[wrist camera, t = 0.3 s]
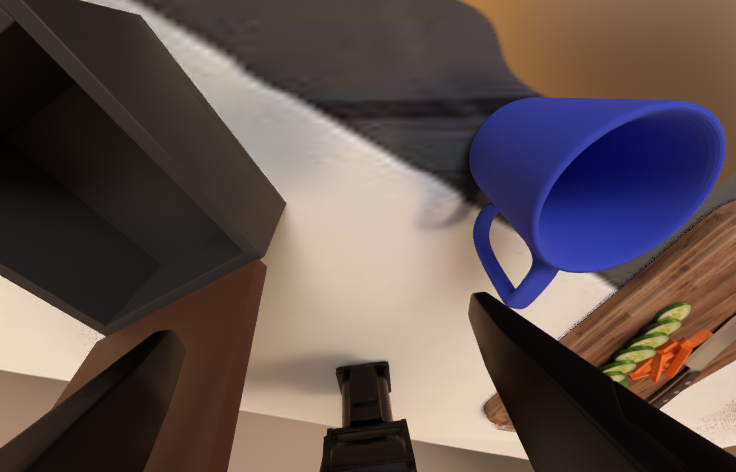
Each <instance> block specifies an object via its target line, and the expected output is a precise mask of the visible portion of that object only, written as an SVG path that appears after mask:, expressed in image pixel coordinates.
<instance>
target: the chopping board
mask: <svg viewBox="0 0 736 472" xmlns="http://www.w3.org/2000/svg"><path fill="white" fill-rule="evenodd" d="M559 342H560V343H562V344H563V345H564V346H566V347H567V348H569V349H570V350H572V351H573V352H575V353H576V354H578V355H579V356H581V357H582V358H583V359H585V360H586V361H588V362H589V363H591V364H592V365H594V366H595V367H597V368H598V369H600V370H601V371H602V372H604V373H605V374H607V375H608V376H610V377H611V378H612V379H613V381H617V382H619V383H620V384H622V385H623V386H625V387H626V388H628V389H629V390H630V391H632V392H633V393H635V394H636V395H638V396H639V397H641V398H642V399H644V400H645V401H647V402H648V403H650V404H651V405H653V406H654V407H656V408H658V409H660V408H661V407H663V406H664V405H665V404H666V403H668V402H669V401H670V400H671V399H673V398H674V397H675V396H676V395H678V394H679V393H680V392H681V391H683V390H684V389H686V388H688V387H690V386H691V385H693V384H695V383H697V382H698V381H700V380H702V379H704V378H705V377H707V376H709V375H711V374H712V373H714V372H716V371H717V370H719V369H721V368H723V367H724V366H726V365H728V364H730V363H731V362H733V361H735V360H736V200H734V201H732V202H730V203H728V204H725V205H723V206H721V207H719V208H718V209H716V210H715V211H713V212H712V213H710V214H709V215H708V216H706V217H705V218H704V219H702V220H701V221H700V222H699V223H698V224H696V225H695V226H694V227H693V228H692V229H691V230H689V231H688V232H687V233H686V234H685V235H683V236H682V237H681V238H680V239H679V240H678V241H676V242H675V243H674V244H673V245H672V246H671V247H669V248H668V249H667V250H666V251H665V252H663V253H662V254H661V255H660V256H659V257H658V258H656V259H655V260H654V261H653V262H652V263H650V264H649V265H648V266H647V267H646V268H645V269H643V270H642V271H641V272H640V273H639V274H638V275H636V276H635V277H634V278H633V279H632V280H630V281H629V282H628V283H627V284H626V285H625V286H623V287H622V288H621V289H620V290H619V291H617V292H616V293H615V294H614V295H613V296H612V297H610V298H609V299H608V300H607V301H606V302H605V303H603V304H602V305H601V306H600V307H599V308H597V309H596V310H595V311H594V312H593V313H592V314H590V315H589V316H588V317H587V318H586V319H584V320H583V321H582V322H581V323H580V324H579V325H577V326H576V327H575V328H574V329H573V330H572V331H570V332H569V333H568V334H567V335H566V336H564V337H563V338H562V339H561V340H560V341H559ZM484 410H485V413H486V415H487V418H488V419H489V421H490V422H492V423H495V424H496V429H498V430H504V431H511V432H516V430H515V428H514V426H513V424H512V422H511V420H510V418H509V415H508V413H507V411H506V409H505V407H504V405H503V403H502V401H501V398H500V396H499V394H498V393H497V394H496V395H495V396H494V397H493V398H491V399H490V400H489V401H488V402H487V403H486V405H485V407H484Z"/></svg>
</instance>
